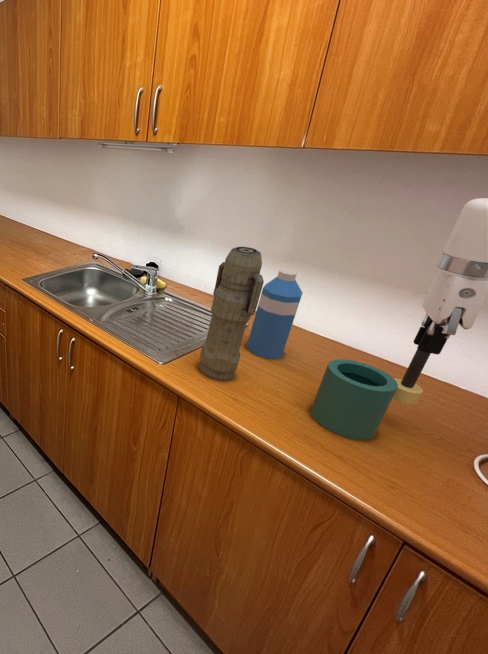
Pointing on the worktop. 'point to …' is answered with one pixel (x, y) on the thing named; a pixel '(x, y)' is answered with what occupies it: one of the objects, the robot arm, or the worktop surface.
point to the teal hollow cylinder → (353, 398)
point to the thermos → (231, 312)
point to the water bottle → (275, 315)
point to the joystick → (412, 379)
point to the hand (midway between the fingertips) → (425, 348)
